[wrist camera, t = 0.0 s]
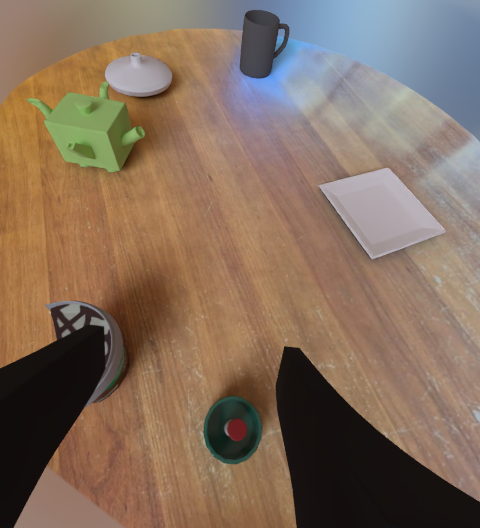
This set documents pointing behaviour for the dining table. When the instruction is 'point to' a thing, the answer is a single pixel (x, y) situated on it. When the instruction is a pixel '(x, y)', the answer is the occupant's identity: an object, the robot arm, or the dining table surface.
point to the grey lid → (138, 75)
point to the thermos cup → (220, 441)
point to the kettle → (91, 129)
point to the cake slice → (116, 355)
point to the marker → (235, 429)
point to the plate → (381, 212)
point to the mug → (260, 43)
